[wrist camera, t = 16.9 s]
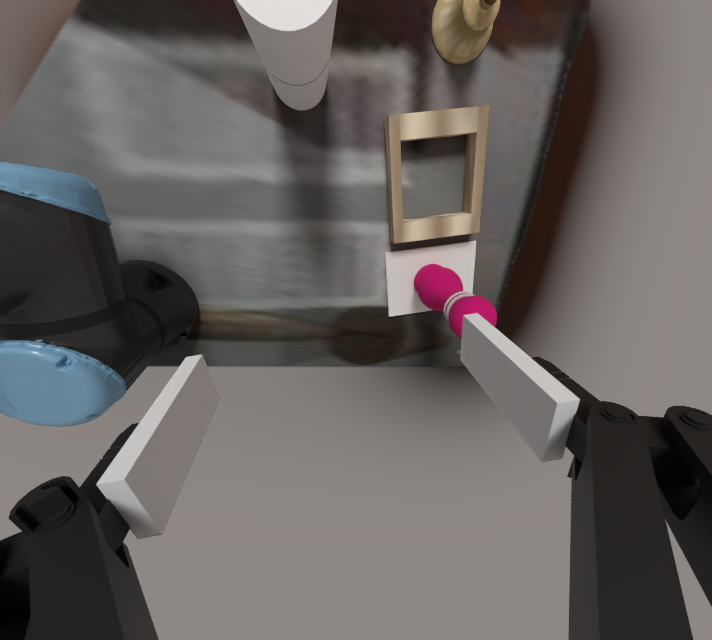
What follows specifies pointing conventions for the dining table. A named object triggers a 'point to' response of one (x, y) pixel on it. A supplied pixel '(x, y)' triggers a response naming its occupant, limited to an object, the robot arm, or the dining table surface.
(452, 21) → the hand bell
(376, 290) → the dining table surface
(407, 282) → the plastic pad
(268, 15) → the cylindrical container
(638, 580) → the robot arm
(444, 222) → the maple frame
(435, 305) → the pepper mill
